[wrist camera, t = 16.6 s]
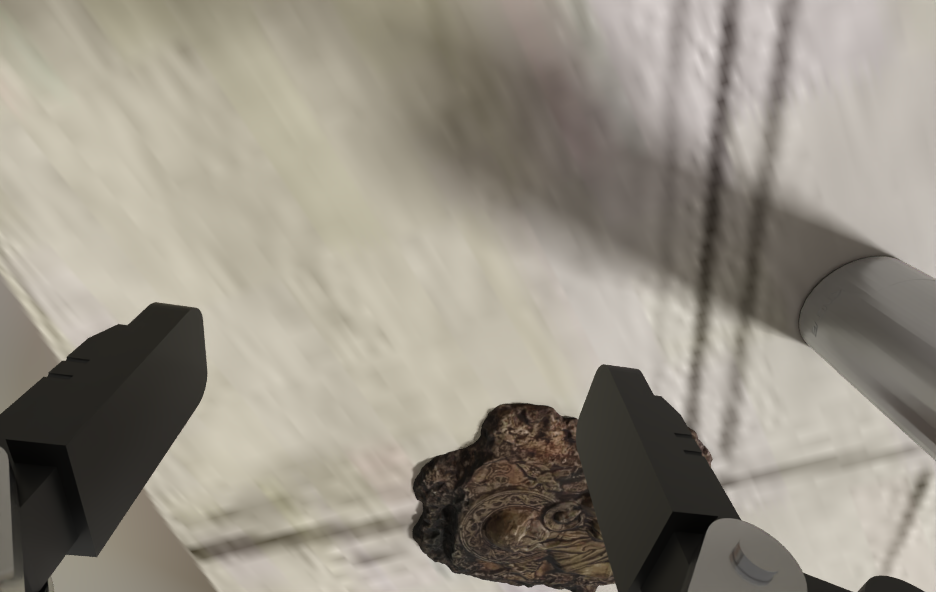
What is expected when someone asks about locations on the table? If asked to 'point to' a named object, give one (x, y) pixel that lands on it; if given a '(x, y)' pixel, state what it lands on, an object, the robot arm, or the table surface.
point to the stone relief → (516, 504)
